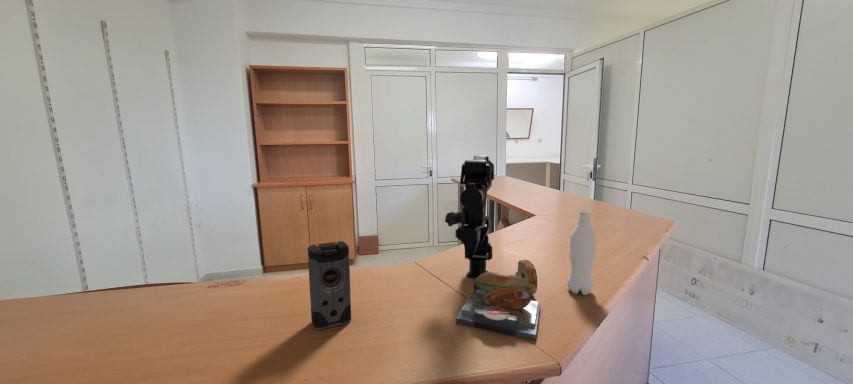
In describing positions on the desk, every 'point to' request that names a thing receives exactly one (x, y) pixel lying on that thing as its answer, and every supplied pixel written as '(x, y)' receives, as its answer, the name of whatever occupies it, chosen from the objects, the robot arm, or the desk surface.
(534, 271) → the stone disc
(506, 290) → the tin
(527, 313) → the dial scale
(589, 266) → the water bottle
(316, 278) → the electronic device
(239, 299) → the desk surface
